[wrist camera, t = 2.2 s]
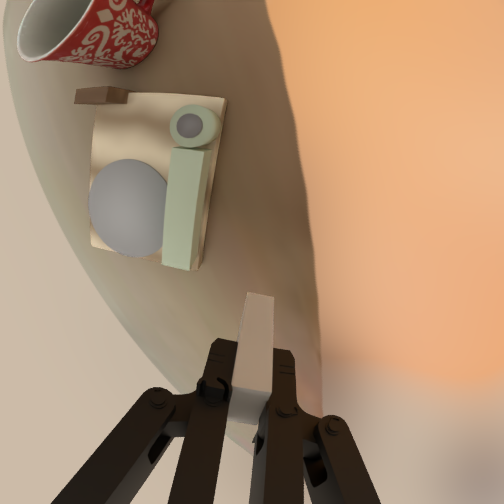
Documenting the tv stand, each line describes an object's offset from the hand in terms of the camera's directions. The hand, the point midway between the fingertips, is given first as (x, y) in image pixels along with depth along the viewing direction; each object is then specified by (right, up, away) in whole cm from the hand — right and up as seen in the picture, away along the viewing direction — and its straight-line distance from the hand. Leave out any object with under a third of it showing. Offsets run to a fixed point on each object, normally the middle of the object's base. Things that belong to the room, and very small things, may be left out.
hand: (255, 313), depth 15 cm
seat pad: (-13, +8, +11) cm, 19 cm away
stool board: (-11, +12, +12) cm, 20 cm away
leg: (-6, +10, +10) cm, 15 cm away
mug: (-12, +28, +5) cm, 31 cm away
